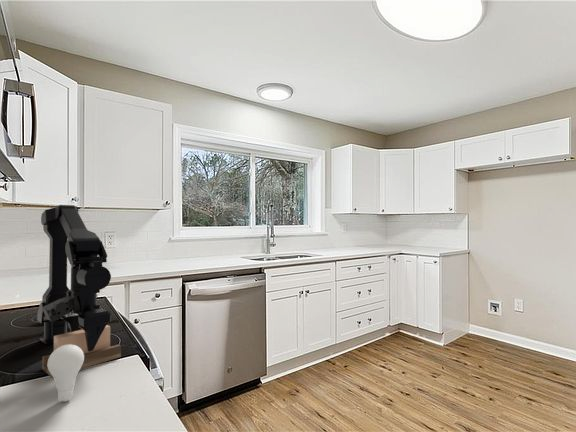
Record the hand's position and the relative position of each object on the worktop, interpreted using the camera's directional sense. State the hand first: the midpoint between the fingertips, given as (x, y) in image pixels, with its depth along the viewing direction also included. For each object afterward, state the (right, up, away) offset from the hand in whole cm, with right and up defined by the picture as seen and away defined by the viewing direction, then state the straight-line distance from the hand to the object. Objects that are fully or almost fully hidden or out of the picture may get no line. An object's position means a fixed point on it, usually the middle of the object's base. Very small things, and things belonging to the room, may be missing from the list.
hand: (83, 346), depth 86 cm
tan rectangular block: (0, -3, 0) cm, 3 cm away
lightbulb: (+8, -4, -19) cm, 21 cm away
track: (0, -4, 0) cm, 4 cm away
